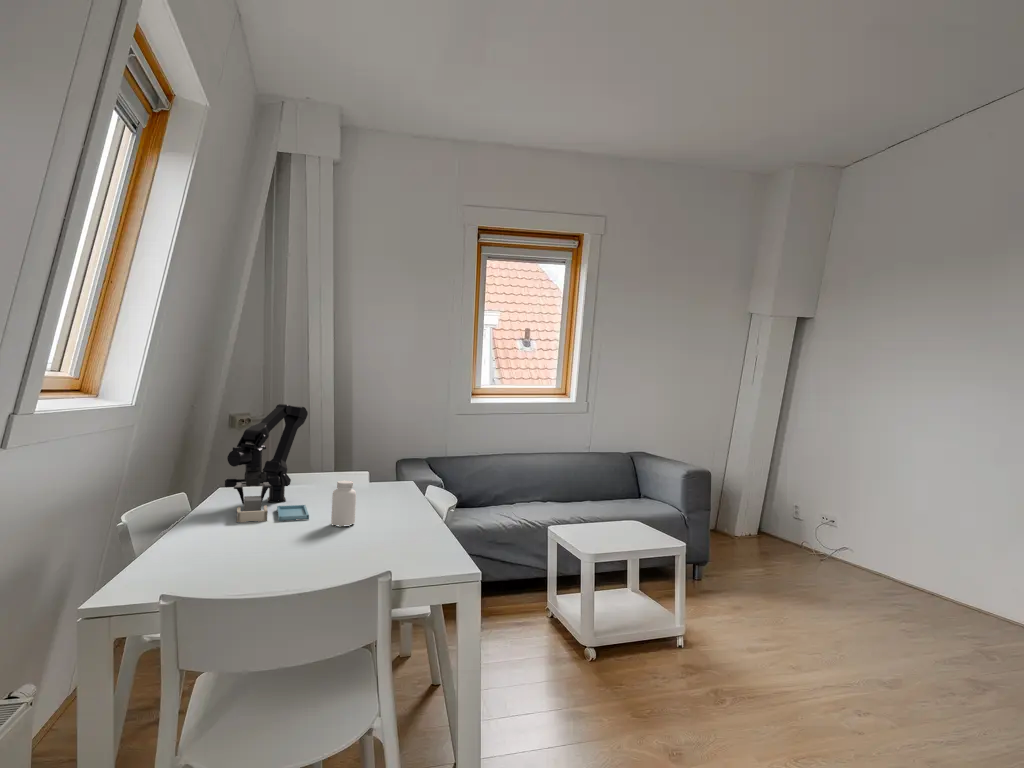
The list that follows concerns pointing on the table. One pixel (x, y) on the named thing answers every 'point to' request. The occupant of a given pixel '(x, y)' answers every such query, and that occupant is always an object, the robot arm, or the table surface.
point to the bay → (251, 515)
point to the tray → (292, 512)
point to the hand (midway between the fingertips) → (252, 504)
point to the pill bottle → (343, 504)
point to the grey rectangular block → (252, 503)
